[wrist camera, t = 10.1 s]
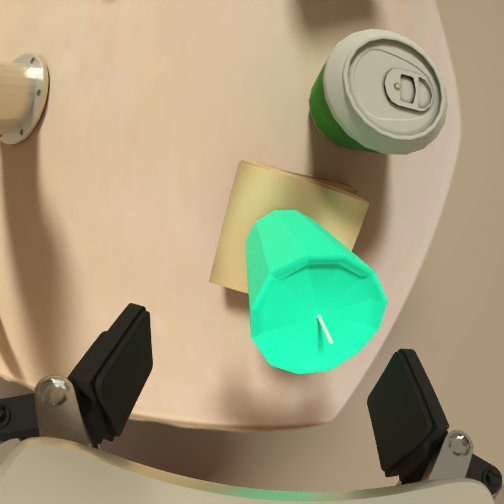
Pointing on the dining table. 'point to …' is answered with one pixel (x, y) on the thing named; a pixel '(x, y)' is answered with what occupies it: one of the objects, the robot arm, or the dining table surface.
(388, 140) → the soda can
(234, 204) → the oak block
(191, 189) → the dining table surface
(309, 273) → the candle
